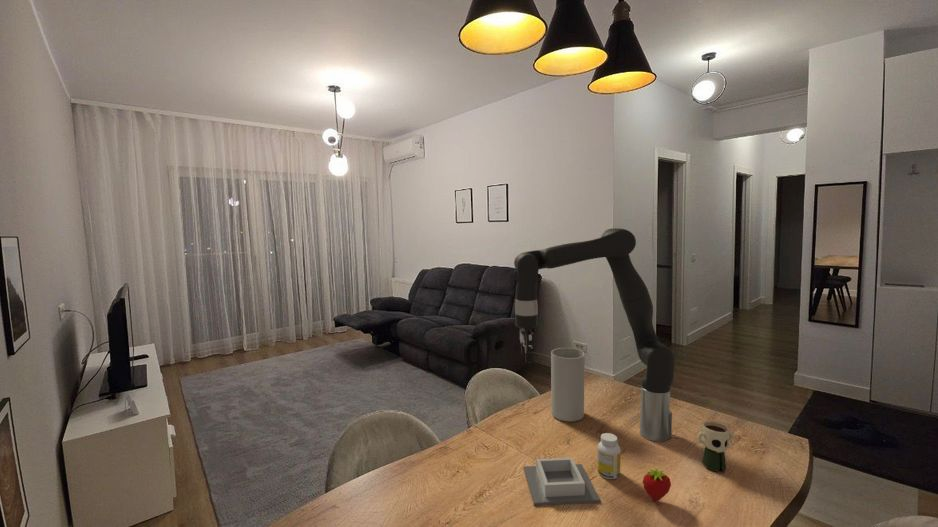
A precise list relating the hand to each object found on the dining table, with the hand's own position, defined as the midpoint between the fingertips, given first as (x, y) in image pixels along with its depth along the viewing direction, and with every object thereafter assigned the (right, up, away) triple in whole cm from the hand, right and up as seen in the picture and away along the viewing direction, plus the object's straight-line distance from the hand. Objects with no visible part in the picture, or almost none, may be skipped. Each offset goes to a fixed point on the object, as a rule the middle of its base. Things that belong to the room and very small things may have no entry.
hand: (526, 359), depth 136 cm
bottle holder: (+6, -32, -20) cm, 38 cm away
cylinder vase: (+19, -27, +21) cm, 39 cm away
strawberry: (+31, -32, -28) cm, 53 cm away
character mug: (+55, -30, -14) cm, 64 cm away
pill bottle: (+22, -31, -16) cm, 41 cm away
